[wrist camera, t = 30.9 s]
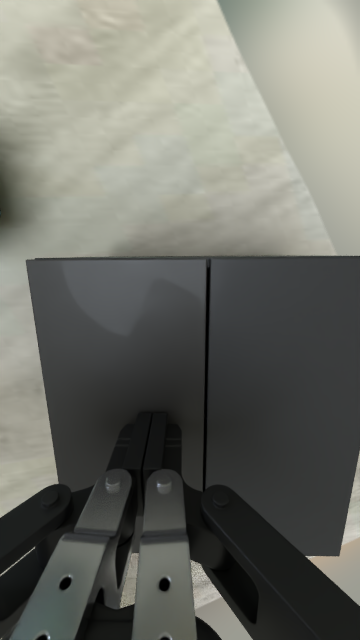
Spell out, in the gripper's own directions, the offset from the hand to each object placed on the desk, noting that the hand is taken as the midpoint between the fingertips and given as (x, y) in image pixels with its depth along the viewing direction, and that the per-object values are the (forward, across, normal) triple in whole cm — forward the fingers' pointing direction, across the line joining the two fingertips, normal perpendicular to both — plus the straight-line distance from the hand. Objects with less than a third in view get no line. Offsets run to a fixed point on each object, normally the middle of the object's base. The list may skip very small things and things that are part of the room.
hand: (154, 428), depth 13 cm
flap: (0, -1, 0) cm, 1 cm away
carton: (+13, +3, 0) cm, 13 cm away
